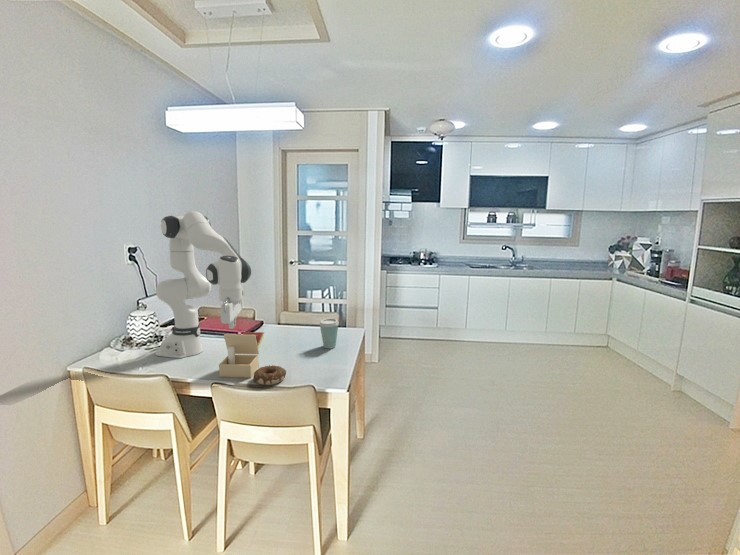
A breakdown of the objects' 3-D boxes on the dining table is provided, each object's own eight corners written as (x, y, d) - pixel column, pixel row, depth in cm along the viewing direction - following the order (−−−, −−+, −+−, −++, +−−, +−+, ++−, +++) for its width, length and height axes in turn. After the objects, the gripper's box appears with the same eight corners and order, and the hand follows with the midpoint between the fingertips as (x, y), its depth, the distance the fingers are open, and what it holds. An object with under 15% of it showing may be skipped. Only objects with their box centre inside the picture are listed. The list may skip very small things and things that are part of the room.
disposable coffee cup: (329, 351, 208) (329, 324, 205) (315, 346, 214) (315, 320, 211) (342, 346, 216) (342, 320, 213) (328, 341, 222) (328, 316, 220)
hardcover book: (235, 352, 205) (234, 344, 205) (243, 339, 226) (242, 332, 225) (258, 351, 207) (258, 344, 206) (264, 338, 227) (264, 331, 227)
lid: (223, 334, 178) (223, 334, 178) (228, 353, 185) (228, 353, 185) (255, 335, 178) (255, 334, 178) (258, 354, 185) (259, 353, 185)
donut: (273, 389, 164) (273, 378, 163) (247, 383, 169) (246, 372, 168) (292, 376, 177) (292, 365, 176) (267, 371, 182) (267, 361, 181)
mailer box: (219, 377, 174) (218, 353, 172) (229, 366, 186) (228, 344, 184) (250, 378, 174) (250, 354, 172) (258, 367, 186) (258, 345, 184)
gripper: (232, 301, 151) (233, 335, 154) (244, 290, 171) (245, 320, 174) (215, 301, 151) (217, 335, 153) (229, 290, 171) (230, 320, 173)
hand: (232, 327), depth 164 cm, fingers closed
